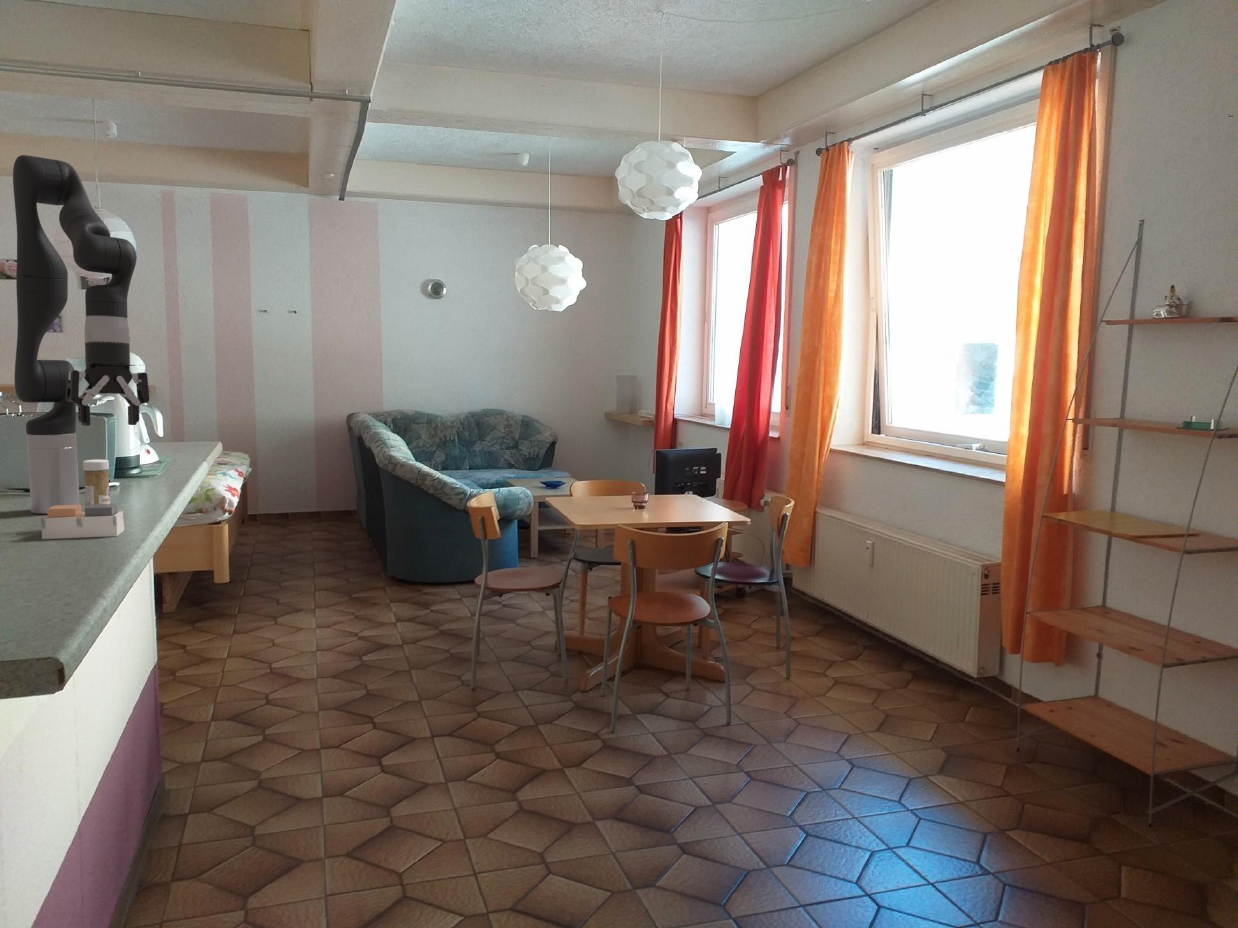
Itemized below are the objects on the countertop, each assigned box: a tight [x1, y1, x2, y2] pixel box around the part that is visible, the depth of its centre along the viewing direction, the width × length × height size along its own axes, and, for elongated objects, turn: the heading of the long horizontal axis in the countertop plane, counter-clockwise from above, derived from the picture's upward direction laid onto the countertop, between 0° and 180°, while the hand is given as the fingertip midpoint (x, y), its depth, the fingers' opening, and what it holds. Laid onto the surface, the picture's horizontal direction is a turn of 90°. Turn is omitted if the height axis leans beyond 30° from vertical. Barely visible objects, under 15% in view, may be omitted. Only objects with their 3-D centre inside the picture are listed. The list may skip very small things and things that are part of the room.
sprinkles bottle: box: [82, 458, 111, 508], centre depth 184 cm, size 5×5×13 cm
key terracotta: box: [47, 504, 83, 518], centre depth 174 cm, size 5×5×2 cm
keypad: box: [40, 510, 125, 540], centre depth 175 cm, size 6×13×4 cm, turn 108°
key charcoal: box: [84, 503, 118, 517], centre depth 176 cm, size 5×5×2 cm
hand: (109, 425), depth 175 cm, fingers open, 8 cm apart
